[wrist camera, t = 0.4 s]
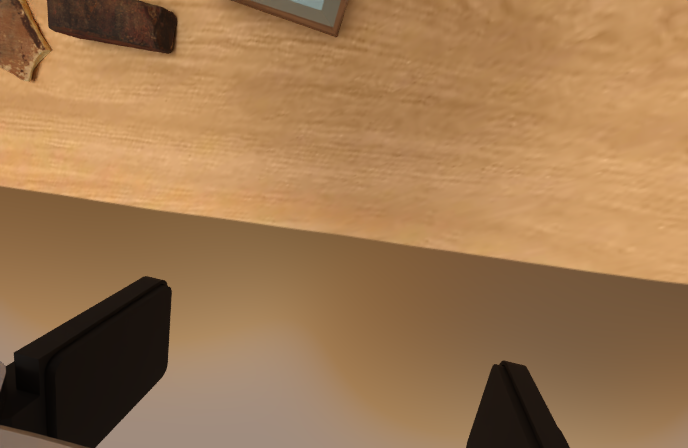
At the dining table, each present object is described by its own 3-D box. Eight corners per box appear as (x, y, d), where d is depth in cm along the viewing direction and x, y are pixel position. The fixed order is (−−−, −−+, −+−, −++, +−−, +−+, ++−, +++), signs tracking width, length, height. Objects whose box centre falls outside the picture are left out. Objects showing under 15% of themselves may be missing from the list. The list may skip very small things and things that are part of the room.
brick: (84, 40, 41) (45, 30, 36) (84, -1, 39) (43, -17, 35) (177, 56, 40) (149, 48, 35) (179, 14, 38) (150, 0, 34)
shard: (7, -45, 40) (-11, -52, 38) (71, -11, 40) (56, -17, 38) (-12, 56, 43) (-29, 53, 41) (47, 88, 43) (33, 86, 41)
